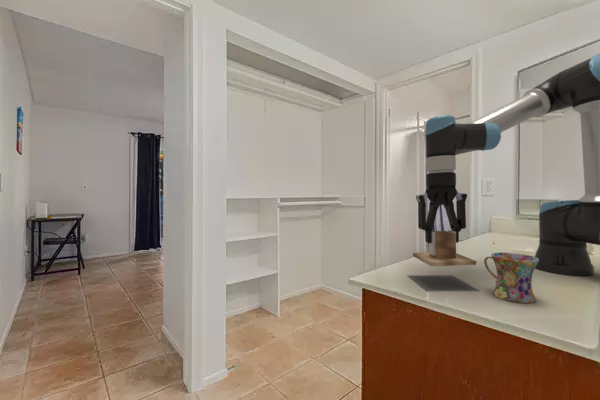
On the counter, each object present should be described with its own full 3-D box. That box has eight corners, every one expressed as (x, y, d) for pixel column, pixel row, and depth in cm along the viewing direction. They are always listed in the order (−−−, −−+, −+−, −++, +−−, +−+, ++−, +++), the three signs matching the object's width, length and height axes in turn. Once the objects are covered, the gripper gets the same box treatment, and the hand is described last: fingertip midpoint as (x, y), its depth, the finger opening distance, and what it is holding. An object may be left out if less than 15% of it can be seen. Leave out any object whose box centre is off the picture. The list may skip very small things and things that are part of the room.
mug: (547, 303, 67) (548, 258, 67) (522, 309, 63) (523, 262, 63) (495, 287, 78) (496, 249, 78) (472, 292, 74) (472, 252, 74)
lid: (452, 254, 87) (451, 228, 86) (476, 264, 75) (475, 234, 74) (413, 256, 87) (412, 230, 86) (430, 266, 75) (430, 236, 74)
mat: (451, 277, 88) (451, 275, 88) (480, 293, 74) (480, 290, 74) (406, 277, 88) (406, 275, 88) (426, 293, 74) (426, 291, 74)
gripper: (465, 172, 84) (466, 250, 84) (404, 174, 84) (405, 252, 84) (481, 170, 76) (482, 256, 77) (413, 172, 76) (415, 258, 77)
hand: (442, 253), depth 81 cm, fingers closed on lid, 5 cm apart
